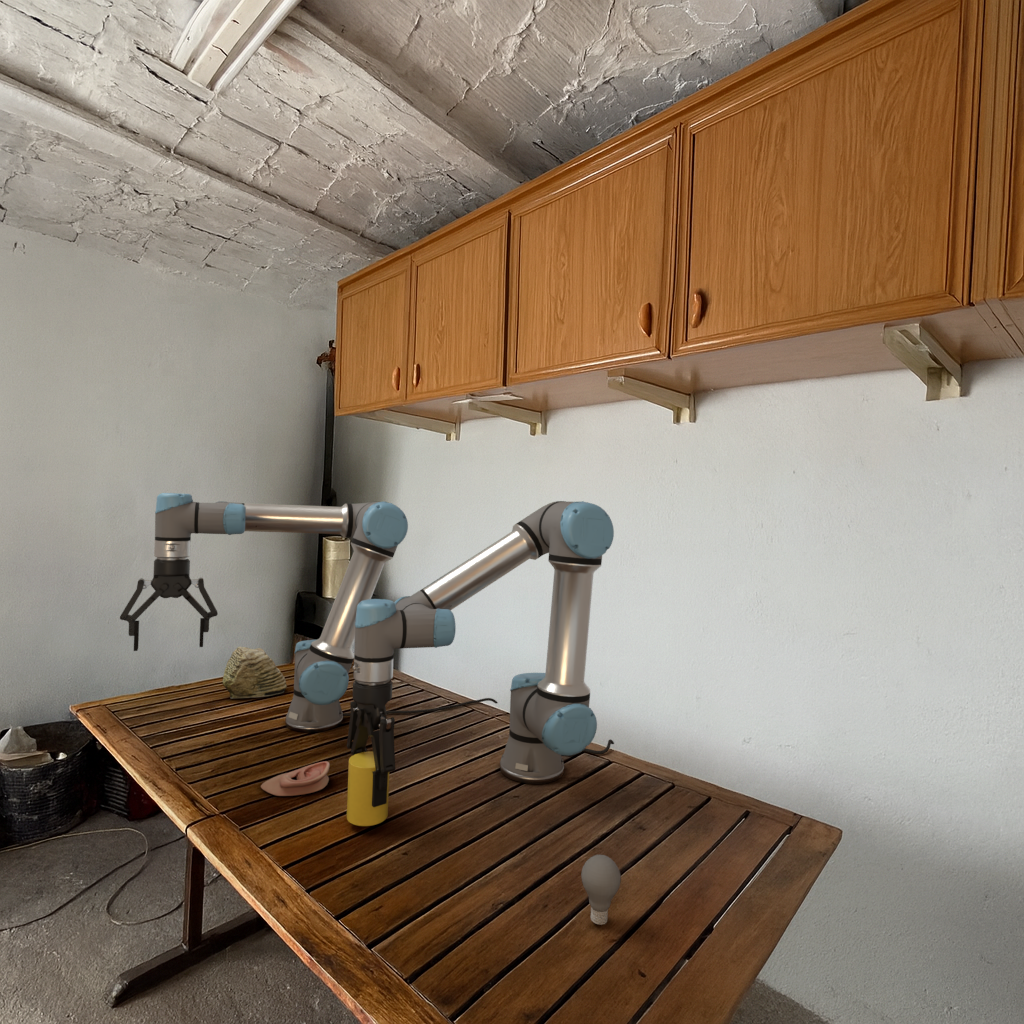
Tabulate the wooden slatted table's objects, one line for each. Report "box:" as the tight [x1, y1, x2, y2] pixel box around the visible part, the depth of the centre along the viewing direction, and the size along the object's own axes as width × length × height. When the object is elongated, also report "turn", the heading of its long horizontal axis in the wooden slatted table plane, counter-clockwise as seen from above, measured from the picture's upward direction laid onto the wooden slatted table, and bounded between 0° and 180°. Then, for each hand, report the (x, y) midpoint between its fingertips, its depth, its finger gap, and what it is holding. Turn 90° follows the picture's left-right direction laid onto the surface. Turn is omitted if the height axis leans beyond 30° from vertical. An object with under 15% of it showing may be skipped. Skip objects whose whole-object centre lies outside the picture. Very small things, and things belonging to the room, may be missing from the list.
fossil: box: [222, 646, 288, 699], centre depth 198 cm, size 9×18×15 cm, turn 132°
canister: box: [346, 750, 390, 827], centre depth 123 cm, size 8×8×11 cm
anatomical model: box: [260, 760, 331, 797], centre depth 138 cm, size 13×4×12 cm
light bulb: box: [580, 854, 622, 926], centre depth 97 cm, size 6×6×10 cm
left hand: (169, 647), depth 150 cm, fingers open, 13 cm apart
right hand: (368, 795), depth 123 cm, fingers closed on canister, 8 cm apart
